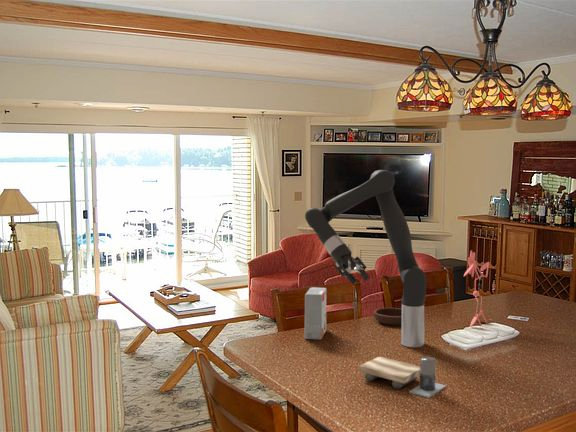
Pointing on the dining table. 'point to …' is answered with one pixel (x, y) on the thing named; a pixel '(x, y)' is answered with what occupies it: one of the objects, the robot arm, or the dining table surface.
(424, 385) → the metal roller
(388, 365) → the birch slab
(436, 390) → the slate-grey pad
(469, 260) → the figurine
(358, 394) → the dining table surface
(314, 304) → the hard drive box
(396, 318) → the dish
